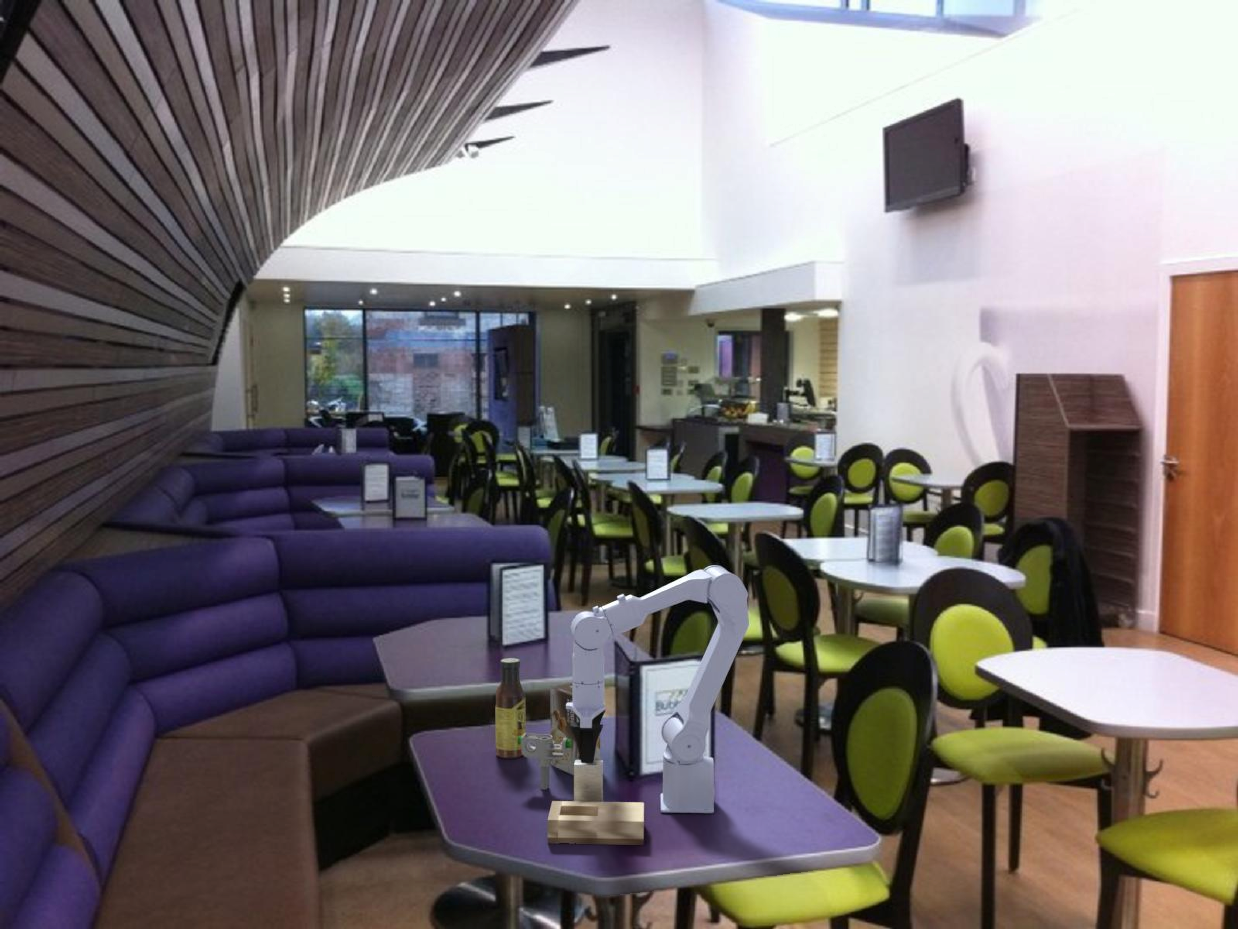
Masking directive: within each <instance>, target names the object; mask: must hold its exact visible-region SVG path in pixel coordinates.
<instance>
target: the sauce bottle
mask: <svg viewBox="0 0 1238 929" xmlns="http://www.w3.org/2000/svg"><path fill="white" fill-rule="evenodd" d="M520 666H521V660H520V659H519V658H513V657H509V658H508V657H507V658H503V659H501V660H500V669H501V675H500V676H501V677H500V681H501V683H500V684H499V686H497V689H496V692H495V706H494V707H495V714H494V715H495V717H494V718H495V723H494V724H495V730H494V731H495V737H494V738H495V754H496V756H497V757H499V758H502V759H516V758H520V757H522V756H524V755H523V754H522V749H521V744H518V736H523V734H524V733H527V732H526V730H527V729H526V728H527V726H526V719H527V718H526V695H525V692H524V690H523V687H522V683H521V679H520Z"/></svg>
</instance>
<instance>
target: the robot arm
mask: <svg viewBox="0 0 1238 929" xmlns="http://www.w3.org/2000/svg"><path fill="white" fill-rule="evenodd" d="M748 596H749V593H748V590H747V589H746V586H745V584H744V583H743V581H742V580H741V578H740V577H739V576H737V575H736V574H734V573H732V572H729V571H728V570H727V569H726V568H725V567H723V566H721V565H718V564H716V565H715V564H714V565H709V566H707V567H704V568H703V569H698V570H693V571H692V572H691V573H688V574H687V575H684V576H683V577H681V578H678V579H676V580H674V581H672V582H670V583H668V584H666V585H664V586H661V587H660V588H658V589H656V590H654V591H652V592H650V593H647V594H644V595H643V596H641V597H637V596H634V595H632V594H629V595H625V594H624V593H621V594H619V595H617V596H616V598H617V600H615V601H612V602H609V603H608V604H605V605H602V606H600V607H599V606H598V605H596V606H594V607H592V611H582V612H579V613H578V614H576V616H574V618H573V619H572V621H571V625H570V626H569V631H570V634H571V636H572V637H573V638H574V640H573V645H572V651H573V653H572V656H571V657H572V675H571V676H572V683H573V702H572V703H566V709H570V710H573V711H574V713H575V714H576V715H577V718H578V720H579V722H571V731H572V732H573V734H574V736H575V739H576V742H577V745H578V751H579V756H580V760H581V763H593V761H594V756H595V750H596V744H597V740H598V737H599V735H600V736H601V732H602V730H603V727H604V724H602V723H601V722H602V721H603V718H604V715H605V713H606V702H605V654H604V645H605V643H606V642H607V640H608V638H609V639H611V638H614V637H616V636H618V635H620V634H623V633H625V632H628V631H630V630H632V629H635V628H637V627H639V626H642V625H643V624H644V622H645V620H646V618H647V616H648V615H650V614H653V613H656V612H658V611H662V610H664V609H667V608H670V607H671V606H674V605H677V604H680V603H682V602H684V601H685V602H686V601H689V600H690V601H694V602H699V603H702V604H703V603H704V604H707V603H709V604H710V605H711V607H712V610H713V612H714V614H715V617H716V618H717V621H718V622H717V625H716V628H715V629H714V632H713V634H712V636H711V638H710V640H709V643H708V646H707V647H706V650H705V652H704V655H703V656H702V659H701V661H700V663H699V666H698V667H697V670H696V672H695V675H694V677H693V679H692V680H691V683H690V685H689V688H688V690H687V692H686V694H685V697H684V699H683V700H682V701H681V702H679V703H678V704H677V705H676V706H675V707H674V708H675V709H674V711H673V712H672V713H671V714H670V715H669V716H668V717H667V718H666V719H665V720H664V722H662V725H661V730H660V731H661V732H660V734H661V738H662V740H663V741H664V742H665V743H666V746H665V750H664V751H663V756H662V757H663V758H662V793H660V812H661V813H670V814H671V813H675V814H677V813H680V814H681V813H682V814H686V813H687V814H688V813H690V814H713V813H714V812H715V808H714V807H715V804H714V803H715V802H714V801H715V799H716V788H715V762H714V758H713V757H711V756H705V755H704V754H705V752H706V747H707V746H706V745H707V743H706V738H707V734H708V732H709V730H710V713H711V710H712V709H713V706H714V705H715V702H716V700H717V697H718V696H719V694H720V691H721V689H722V686H723V684H724V682H725V680H726V677H727V675H728V673H729V671H730V669H731V666H732V664H733V662H734V661H735V657H736V655H737V654H738V650H739V648H740V646H741V644H742V642H743V640H744V638H745V635H746V634H747V631H748V629H749V626H750V619H749V618H750V617H749V608H748V598H749V597H748Z"/></svg>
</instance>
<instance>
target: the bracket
mask: <svg viewBox="0 0 1238 929" xmlns="http://www.w3.org/2000/svg"><path fill="white" fill-rule="evenodd" d="M603 779H604V760H602V759H600V760H594V761H593V763H581V760H575V763H574V775H573V801H580V802H604V799H603V798H604V795H603V794H604V788H603V787H604V780H603Z"/></svg>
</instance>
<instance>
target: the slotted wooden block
mask: <svg viewBox="0 0 1238 929" xmlns="http://www.w3.org/2000/svg"><path fill="white" fill-rule="evenodd" d="M644 828H645V803H644V802H641V801H640V802H639V801H638V802H636V801H635V802H634V801H632V802H631V801H629V802H627V801H625V802H624V801H622V802H621V801H603V802H580V801H574V800H571V801H570V800H569V801H568V800H565V801H564V800H551V805H550V809H549V813H548V817H547V844H559V843H569V844H568V845H573V844H574V845H575V843H576V845H616V846H617V845H618V846H619V845H620V846H621V845H622V846H623V845H625V846H627V845H629V846H632V845H633V846H644V843H643V842H645V841H644V837H645V836H644V835H645V833H644V832H645V829H644Z"/></svg>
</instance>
